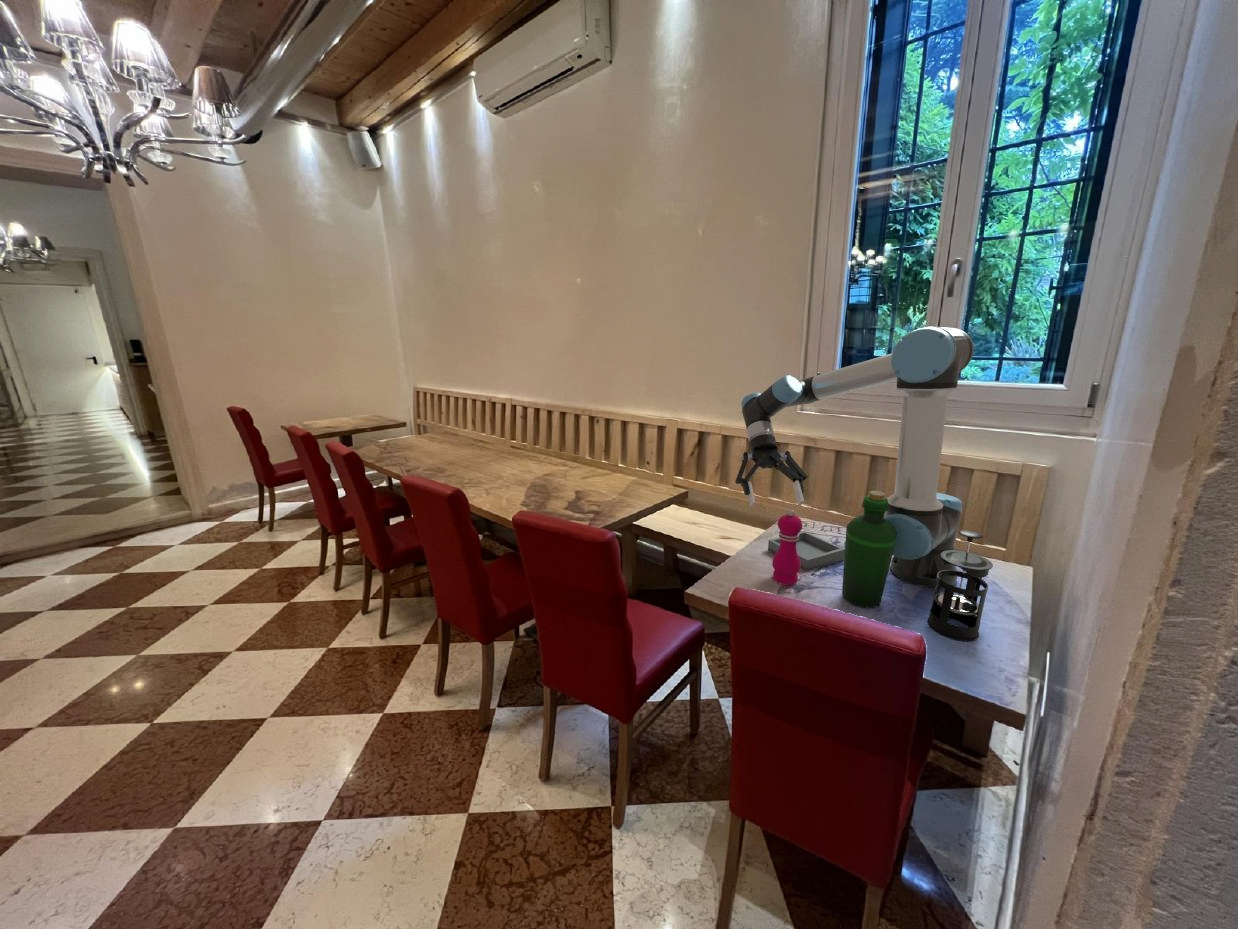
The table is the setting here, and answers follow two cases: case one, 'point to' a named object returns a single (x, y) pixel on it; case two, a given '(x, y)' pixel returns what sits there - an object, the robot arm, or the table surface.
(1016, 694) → the table surface
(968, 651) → the table surface
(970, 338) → the robot arm
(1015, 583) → the table surface
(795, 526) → the pepper mill
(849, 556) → the bottle
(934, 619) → the french press
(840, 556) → the tray
